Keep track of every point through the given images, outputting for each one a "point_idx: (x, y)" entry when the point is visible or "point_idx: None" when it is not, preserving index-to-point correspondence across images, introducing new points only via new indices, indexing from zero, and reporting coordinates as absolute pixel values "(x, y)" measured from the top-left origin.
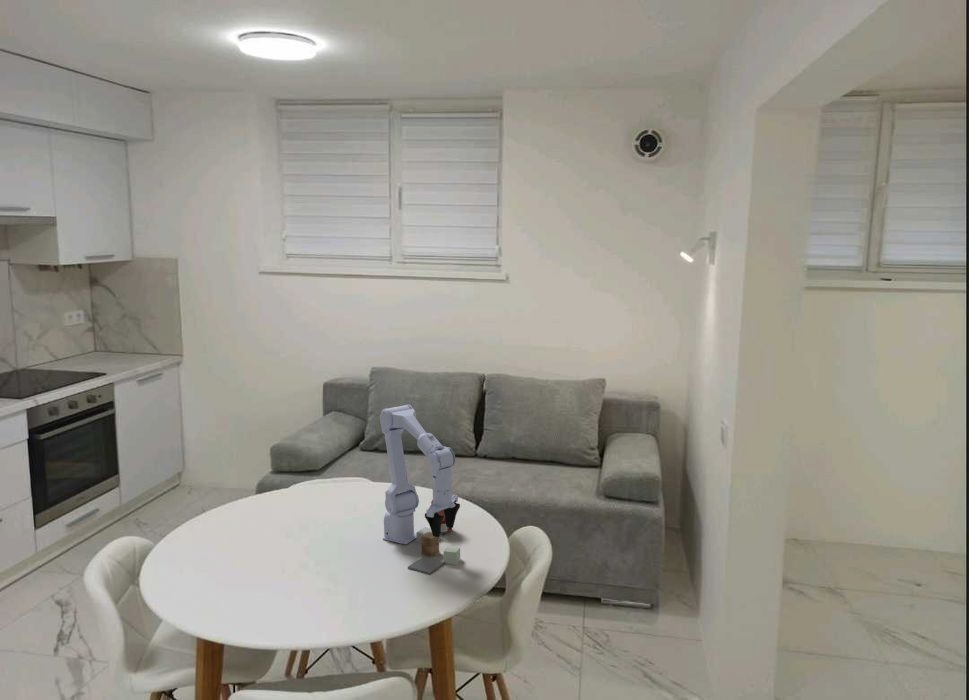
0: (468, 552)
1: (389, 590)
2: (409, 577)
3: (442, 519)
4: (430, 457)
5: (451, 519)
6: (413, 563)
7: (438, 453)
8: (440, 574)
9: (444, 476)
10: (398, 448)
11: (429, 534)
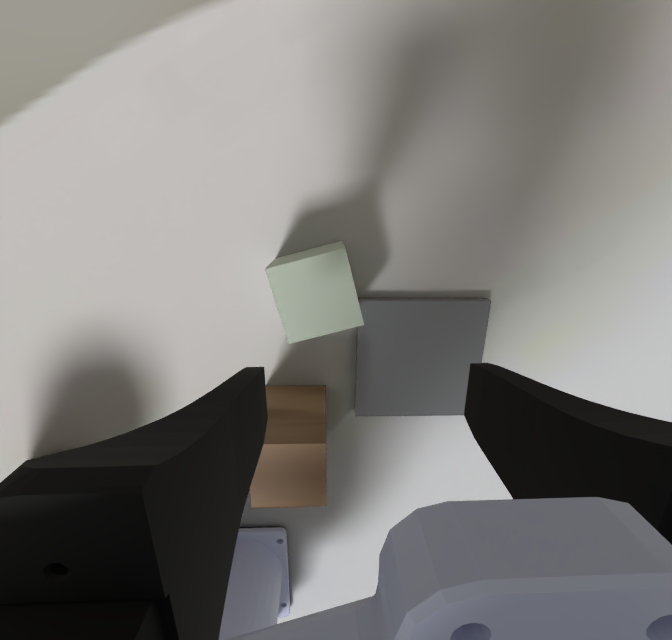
0: (187, 260)
1: (669, 366)
2: (540, 361)
3: (633, 435)
4: None
5: (242, 418)
6: (435, 412)
7: None
8: (466, 255)
9: None
10: None
11: (280, 482)
